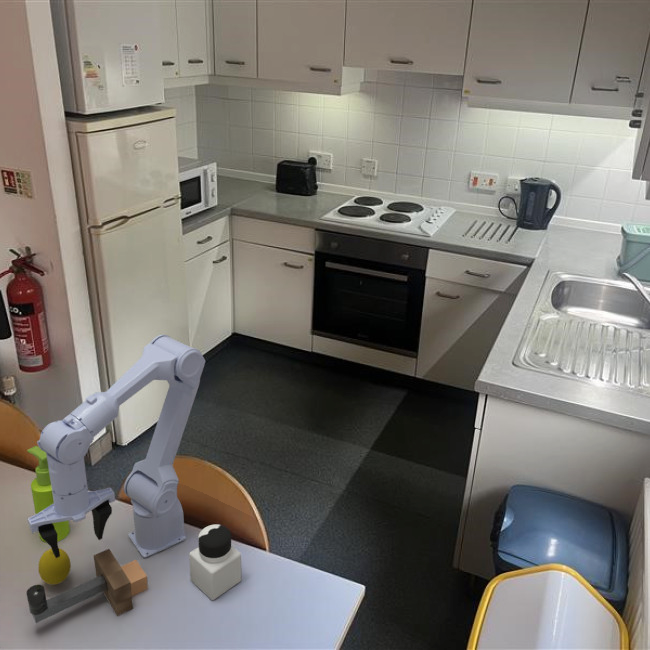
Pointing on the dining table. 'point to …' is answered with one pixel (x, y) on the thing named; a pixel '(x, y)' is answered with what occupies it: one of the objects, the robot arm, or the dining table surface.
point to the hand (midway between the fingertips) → (77, 544)
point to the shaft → (62, 598)
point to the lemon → (54, 567)
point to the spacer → (135, 577)
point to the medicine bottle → (215, 562)
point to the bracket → (114, 582)
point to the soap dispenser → (45, 491)
